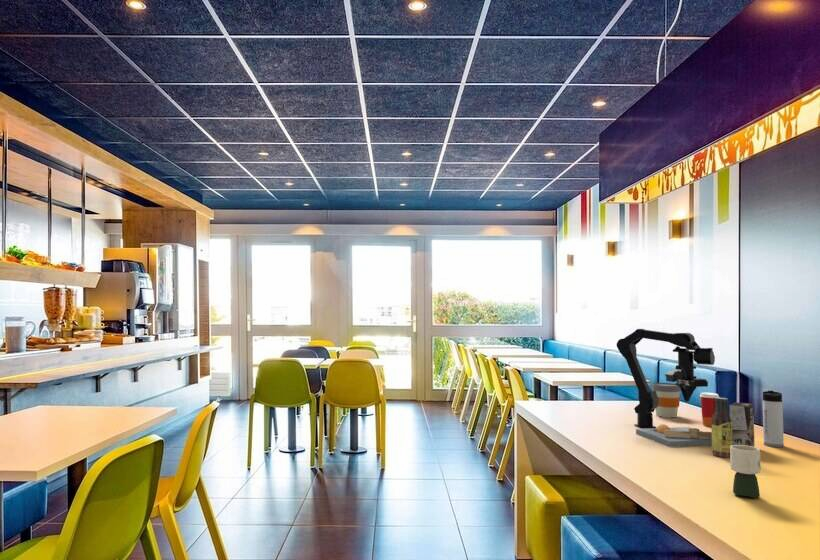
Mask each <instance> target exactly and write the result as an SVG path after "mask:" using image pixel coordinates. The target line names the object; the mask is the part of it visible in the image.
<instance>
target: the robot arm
mask: <svg viewBox="0 0 820 560" xmlns="http://www.w3.org/2000/svg"><path fill="white" fill-rule="evenodd" d="M642 339H647V340H654V341H658V342H659V341H660V342H665V343H666V342H667V343H670V344H672V345H675V346H676V347H675V348H674V349H672V352H674V353H677V361H678V362H677V365H675V369H672V370H670V371H667V372H665V373H664V376H665V380H666V382H668V383H674V384H675V385H677V386H678V387H679V388H680V390H681V391H680V393H681V395H682V396H683V399H684V402H689V401H690V399H691V398H692V395H693V393H694V392H695V390H697V388H698V387H699V388H701V387H702V388H704V387H709V381H708V380H707V379H706V378H698V377H697V376H695V369H696V370H697V366H696V365H695V363H696V364H697V365H706V366H707V365H708V366H714V364H715V361H716V360H715V359H716V356H715V353H714V351H713V349H714V348H713V347H700V345H699V344H698V343H697V342H696V340H695V336H694V335H693V334H692V333H691V332H675V333H674V332H666V331H665V332H664V331H657V330H649V329H646V328H645V329H644V328H637V329H636V330H634V331H633V332H631V333H630V334H628V335H627V336H625V337H624V338H619V339H618V341H617V342H616V348H617V350H618V351H619V353H620V354H621V356H622V357H623V358H624V359H625V361H626V363H627V366H628V369H629V370H630V373H631V375H632V377H633V378H632V379H633V381H634V383H635V386H636V388H637V392H638V394H637V396H638V397H637V398H638V402H639V403H638V404H637V405H636V406H635V407H634V408H633V410H634V413H635V414H637V415H636V416H637V417H636V419H637V423H634V424H633V426H635V427H638V428H639V429H649V428H657V426H655V425H654V420H653V419H654V418H653V413H654V412H655V411H656V410H655V408H657V407H658V405H659V401H658V400H659V398H658V396H657V393H656V391H655V390H654V391H653V390H652V388H650V386H649V384H648V382H647V380H646V377H645V374H644V372H643V369H642V366H641V364H640V361H639V360H638V356H637V346H636V345H638V344H639V343H640V342H641V341H642ZM694 362H695V363H694Z"/></svg>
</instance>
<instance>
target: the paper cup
mask: <svg viewBox="0 0 820 560" xmlns="http://www.w3.org/2000/svg"><path fill="white" fill-rule="evenodd" d="M699 397H700V406H701V407H700V408H701V418H702V419H701V420H702V425H704V426H705V427H707V426H708V428H712V416H713V415H714V413H715V408H716V402H715V398H720V396H719V394H718V393H715V392H700V395H699ZM704 426H703V427H704Z"/></svg>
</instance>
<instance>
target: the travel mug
mask: <svg viewBox="0 0 820 560" xmlns="http://www.w3.org/2000/svg"><path fill="white" fill-rule="evenodd" d="M783 405H784V404H783V393H782V392H779V391H775V390H767V391H766V390H765V391H763V392H762V424H763V426H762V427H763V429H762V430H763V445H765V446H766V447H770V446H771V448H783V447H784V446H785V445H784V444H785V443H784V440H785V439H784V415H783V414H784V413H783V411H784V409H783Z"/></svg>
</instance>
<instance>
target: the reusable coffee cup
mask: <svg viewBox="0 0 820 560" xmlns="http://www.w3.org/2000/svg"><path fill="white" fill-rule="evenodd" d="M651 390H652V391H654V390H655V391H656V393H657V396H658V398H659V400H658V401H659V405H658V407H657V408H655V410H654V411H655V415H656V417H659V416H661V417H660V418H665V417H676V418H678V411H679V407H680V402H681V401H680V400H681V396H680V394H681V389H680V388H679V387H678V386H677V385H675V383H674V382H653V383H652V384H651Z"/></svg>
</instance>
